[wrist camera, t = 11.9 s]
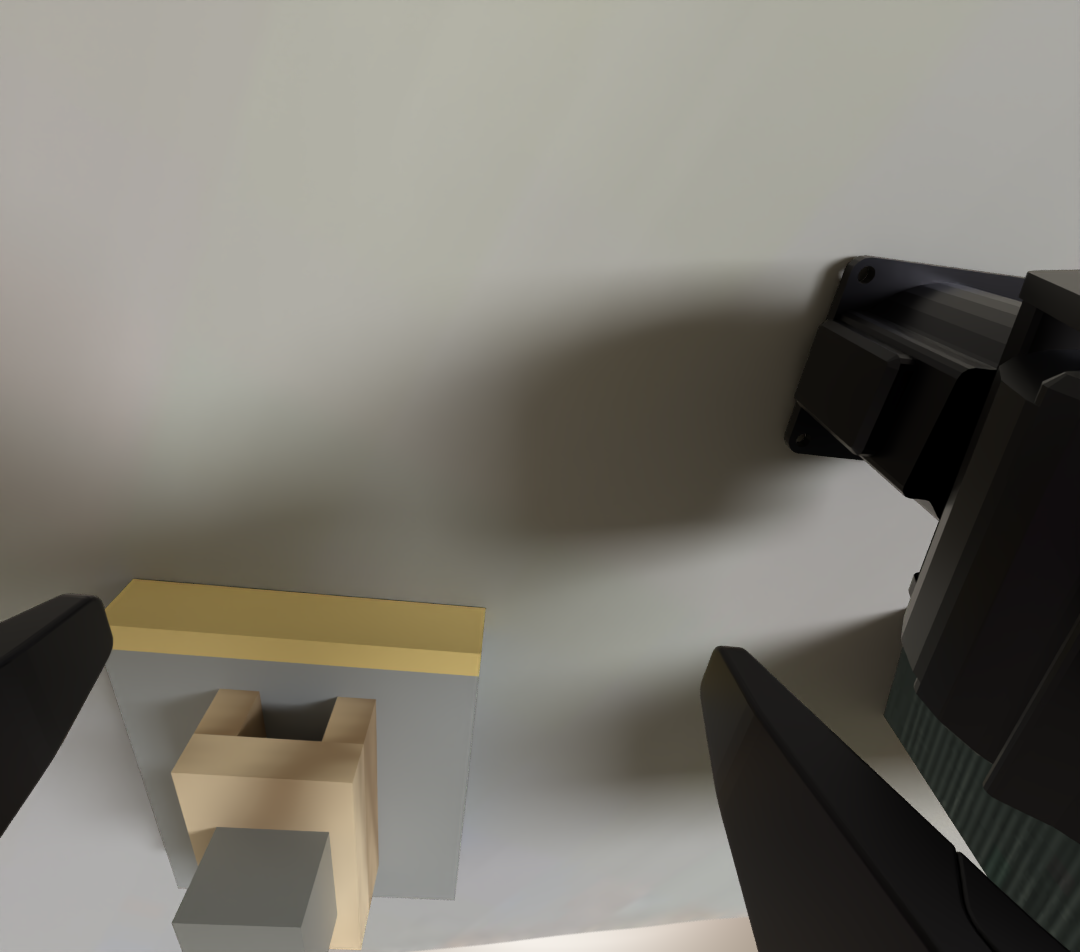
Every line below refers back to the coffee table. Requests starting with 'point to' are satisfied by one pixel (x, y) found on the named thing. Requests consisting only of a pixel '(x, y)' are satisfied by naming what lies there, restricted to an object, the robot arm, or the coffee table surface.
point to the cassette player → (990, 817)
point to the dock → (309, 701)
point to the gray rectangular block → (260, 893)
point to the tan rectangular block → (290, 790)
